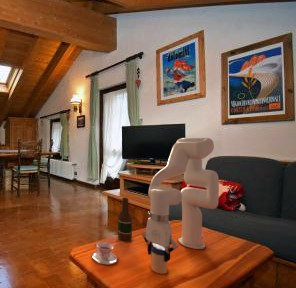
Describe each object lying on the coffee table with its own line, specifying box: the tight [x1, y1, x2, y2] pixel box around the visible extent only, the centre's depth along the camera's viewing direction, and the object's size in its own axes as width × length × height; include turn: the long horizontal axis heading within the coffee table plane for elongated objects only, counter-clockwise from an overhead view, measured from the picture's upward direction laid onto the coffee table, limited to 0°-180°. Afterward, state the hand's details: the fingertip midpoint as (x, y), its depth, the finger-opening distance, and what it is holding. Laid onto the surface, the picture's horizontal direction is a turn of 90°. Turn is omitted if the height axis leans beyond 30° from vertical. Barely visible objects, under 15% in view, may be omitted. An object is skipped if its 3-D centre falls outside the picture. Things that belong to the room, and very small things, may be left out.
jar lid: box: [151, 243, 166, 255], centre depth 96 cm, size 7×7×2 cm
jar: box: [150, 251, 168, 275], centre depth 96 cm, size 7×7×10 cm
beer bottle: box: [117, 197, 133, 243], centre depth 127 cm, size 8×8×24 cm
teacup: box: [91, 241, 118, 266], centre depth 105 cm, size 12×12×6 cm
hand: (158, 256), depth 96 cm, fingers closed on jar lid, 6 cm apart
